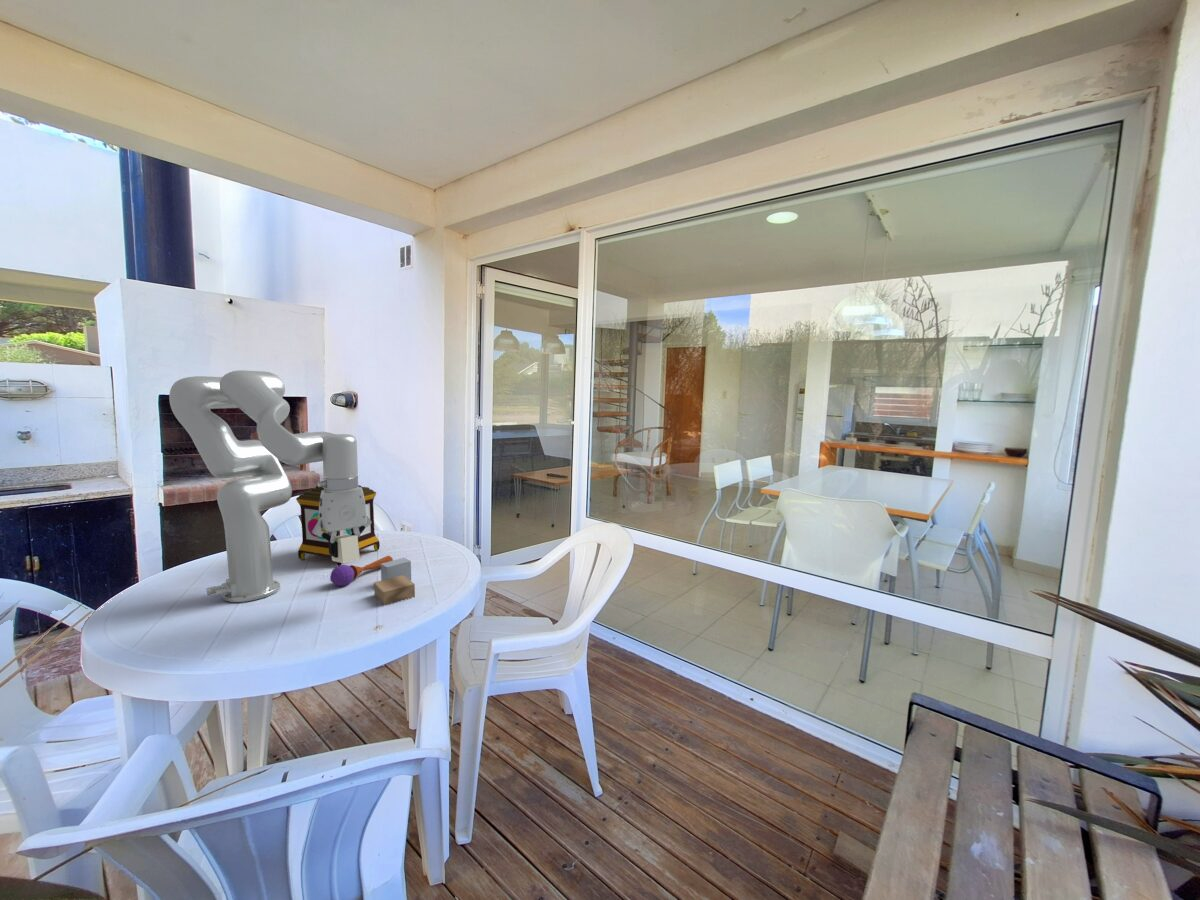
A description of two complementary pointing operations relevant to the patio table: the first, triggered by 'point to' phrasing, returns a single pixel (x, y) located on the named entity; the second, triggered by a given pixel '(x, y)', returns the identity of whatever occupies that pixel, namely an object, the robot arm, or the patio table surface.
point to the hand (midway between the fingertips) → (344, 553)
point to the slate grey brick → (396, 569)
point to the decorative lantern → (319, 544)
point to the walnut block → (394, 590)
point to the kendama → (353, 571)
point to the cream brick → (347, 548)
